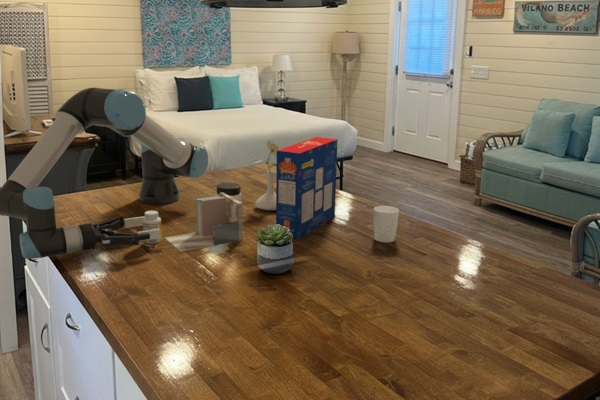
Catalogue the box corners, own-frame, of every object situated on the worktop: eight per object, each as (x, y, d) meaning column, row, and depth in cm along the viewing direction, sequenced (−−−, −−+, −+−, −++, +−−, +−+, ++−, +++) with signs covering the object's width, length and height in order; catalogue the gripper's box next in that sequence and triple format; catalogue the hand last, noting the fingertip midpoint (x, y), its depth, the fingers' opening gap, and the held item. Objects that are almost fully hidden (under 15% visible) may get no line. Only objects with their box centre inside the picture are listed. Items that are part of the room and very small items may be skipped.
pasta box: (314, 213, 220) (316, 136, 213) (334, 217, 217) (337, 139, 209) (275, 235, 197) (276, 150, 189) (297, 240, 193) (299, 153, 185)
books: (197, 232, 195) (196, 197, 192) (220, 228, 199) (219, 193, 196) (203, 236, 191) (202, 201, 187) (226, 232, 195) (226, 197, 192)
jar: (246, 220, 211) (245, 186, 208) (226, 224, 206) (225, 190, 203) (231, 213, 218) (231, 181, 215) (212, 217, 213) (211, 184, 210)
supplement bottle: (154, 239, 191) (153, 208, 188) (166, 244, 187) (164, 212, 184) (139, 244, 187) (138, 212, 184) (151, 248, 183) (149, 216, 180)
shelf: (164, 241, 190) (162, 200, 186) (223, 231, 200) (223, 192, 196) (180, 255, 178) (179, 212, 175) (242, 244, 188) (242, 203, 185)
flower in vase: (288, 212, 221) (289, 144, 214) (256, 213, 219) (256, 144, 212) (283, 202, 233) (283, 137, 226) (253, 203, 231) (253, 138, 224)
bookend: (213, 244, 184) (212, 225, 183) (237, 240, 188) (237, 221, 187) (214, 245, 183) (214, 226, 182) (238, 241, 187) (238, 222, 186)
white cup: (398, 236, 198) (400, 207, 195) (394, 244, 191) (396, 214, 188) (375, 233, 200) (376, 204, 197) (369, 241, 193) (371, 211, 190)
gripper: (71, 237, 186) (140, 226, 196) (90, 264, 165) (166, 251, 176) (69, 213, 184) (139, 204, 194) (88, 238, 163) (165, 226, 174)
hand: (152, 226), depth 185 cm, fingers open, 13 cm apart
